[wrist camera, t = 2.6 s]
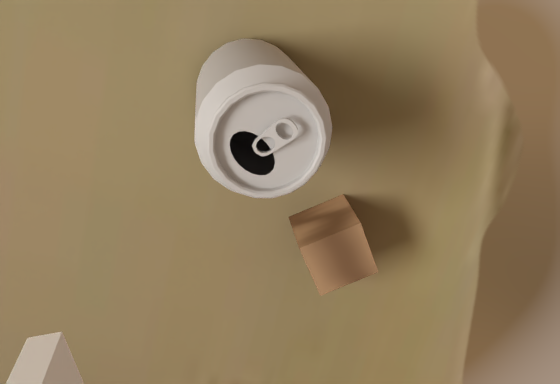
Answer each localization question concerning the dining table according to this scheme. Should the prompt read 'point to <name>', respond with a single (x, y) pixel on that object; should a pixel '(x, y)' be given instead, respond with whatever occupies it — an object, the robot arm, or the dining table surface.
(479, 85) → the dining table surface
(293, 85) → the can
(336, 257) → the walnut block
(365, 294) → the dining table surface
